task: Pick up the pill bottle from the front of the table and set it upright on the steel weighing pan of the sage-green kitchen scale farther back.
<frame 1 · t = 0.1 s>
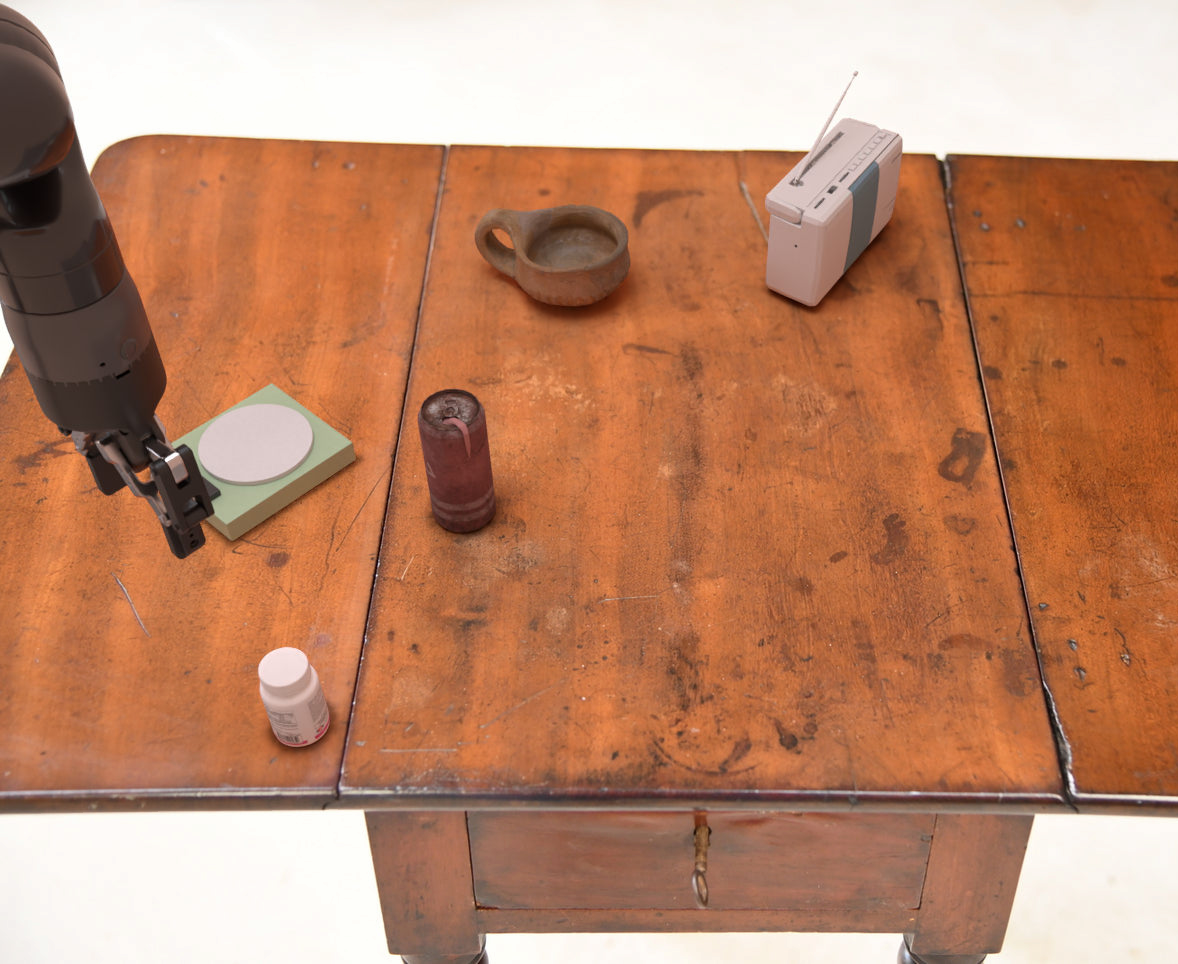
hand: (153, 518, 95), 30 cm above the table, tool pointing down, fingers open, 8 cm apart
can: (465, 514, 137), on the table
radio: (826, 260, 168), on the table
scale: (255, 467, 140), on the table
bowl: (554, 287, 162), on the table
pill bottle: (302, 726, 119), on the table
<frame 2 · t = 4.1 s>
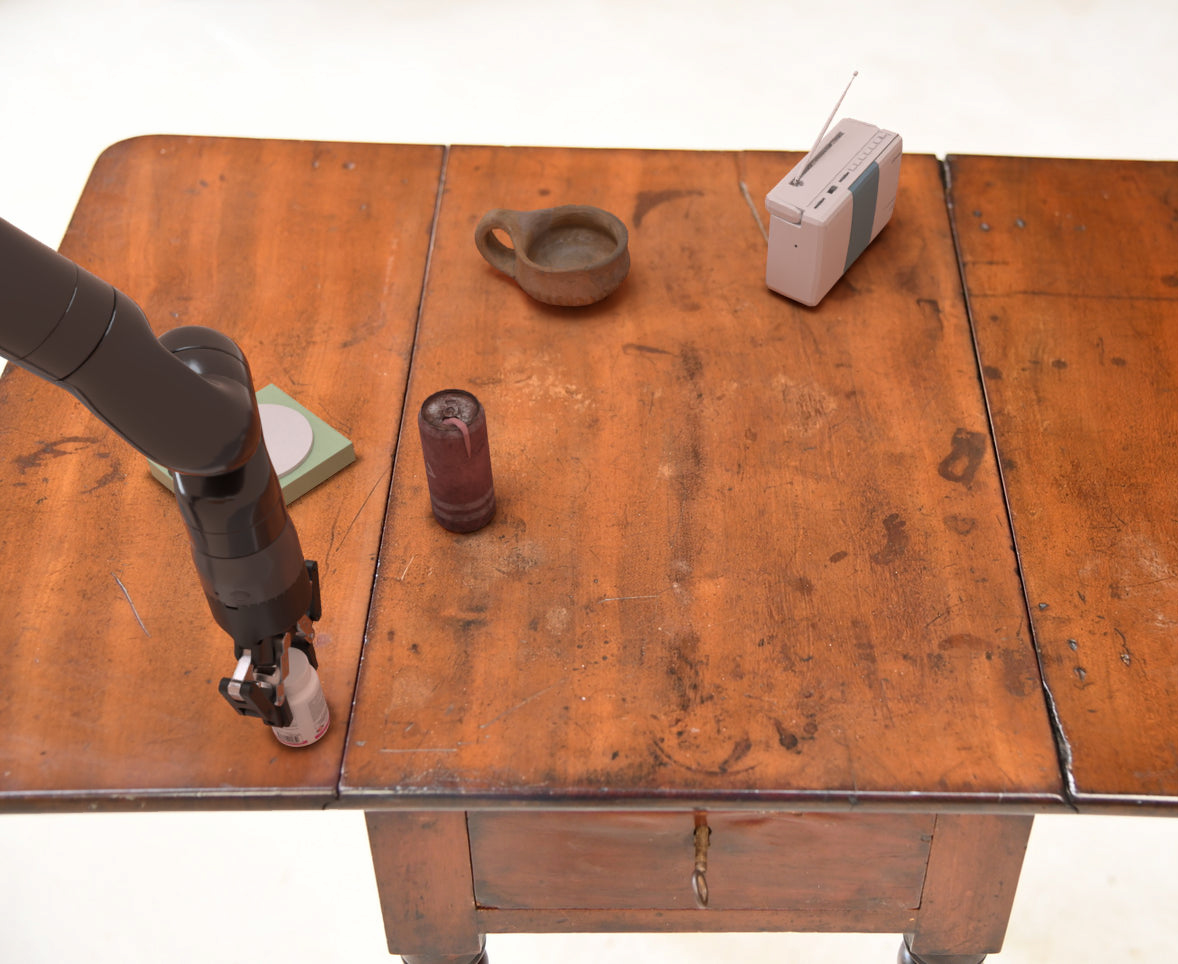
hand: (292, 695, 116), 4 cm above the table, tool pointing down, fingers closed on pill bottle, 4 cm apart
pill bottle: (302, 726, 119), on the table, touching gripper
everything else where it was.
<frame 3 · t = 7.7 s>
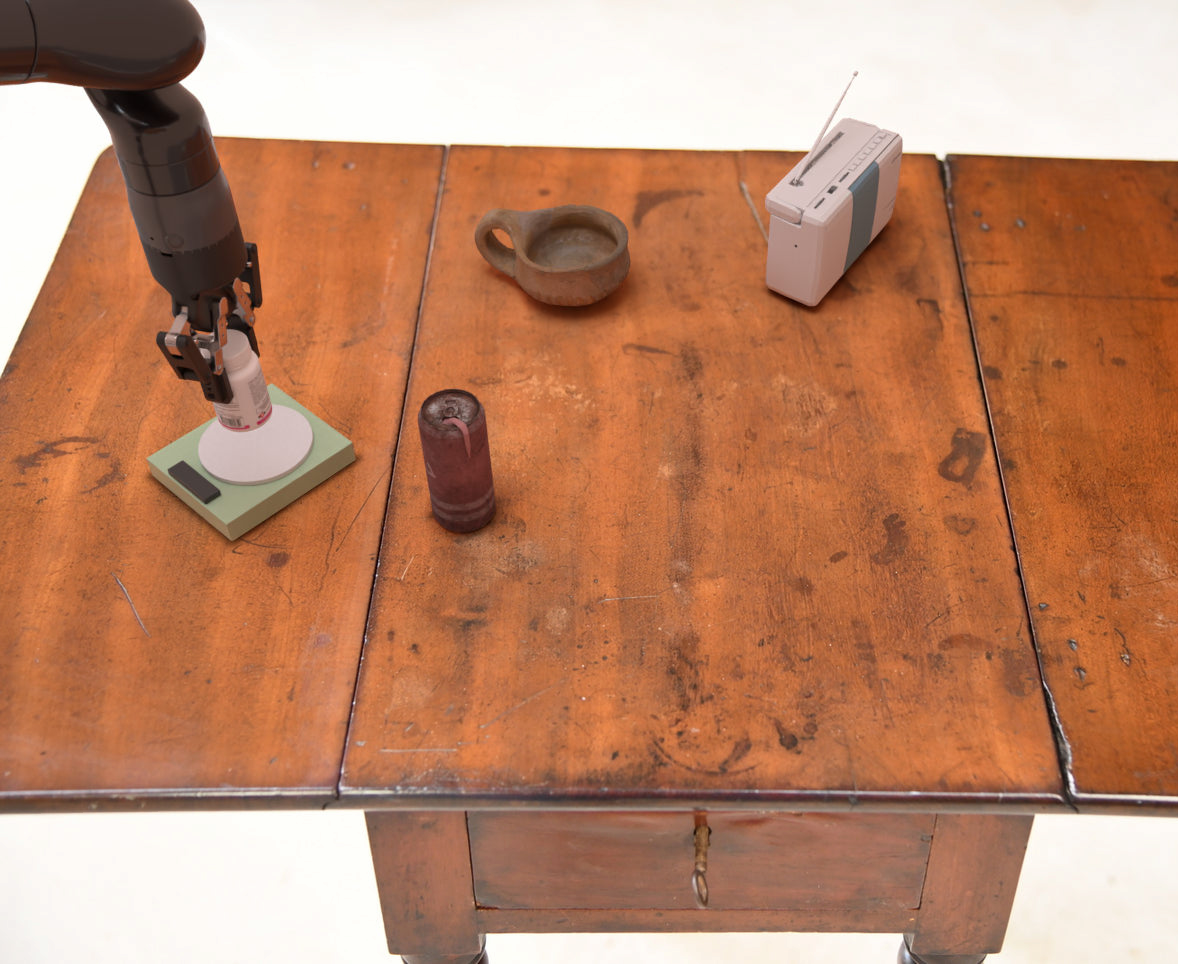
hand: (234, 379, 121), 19 cm above the table, tool pointing down, fingers closed on pill bottle, 4 cm apart
pill bottle: (246, 416, 125), point 14 cm above the table, touching gripper
everything else where it was.
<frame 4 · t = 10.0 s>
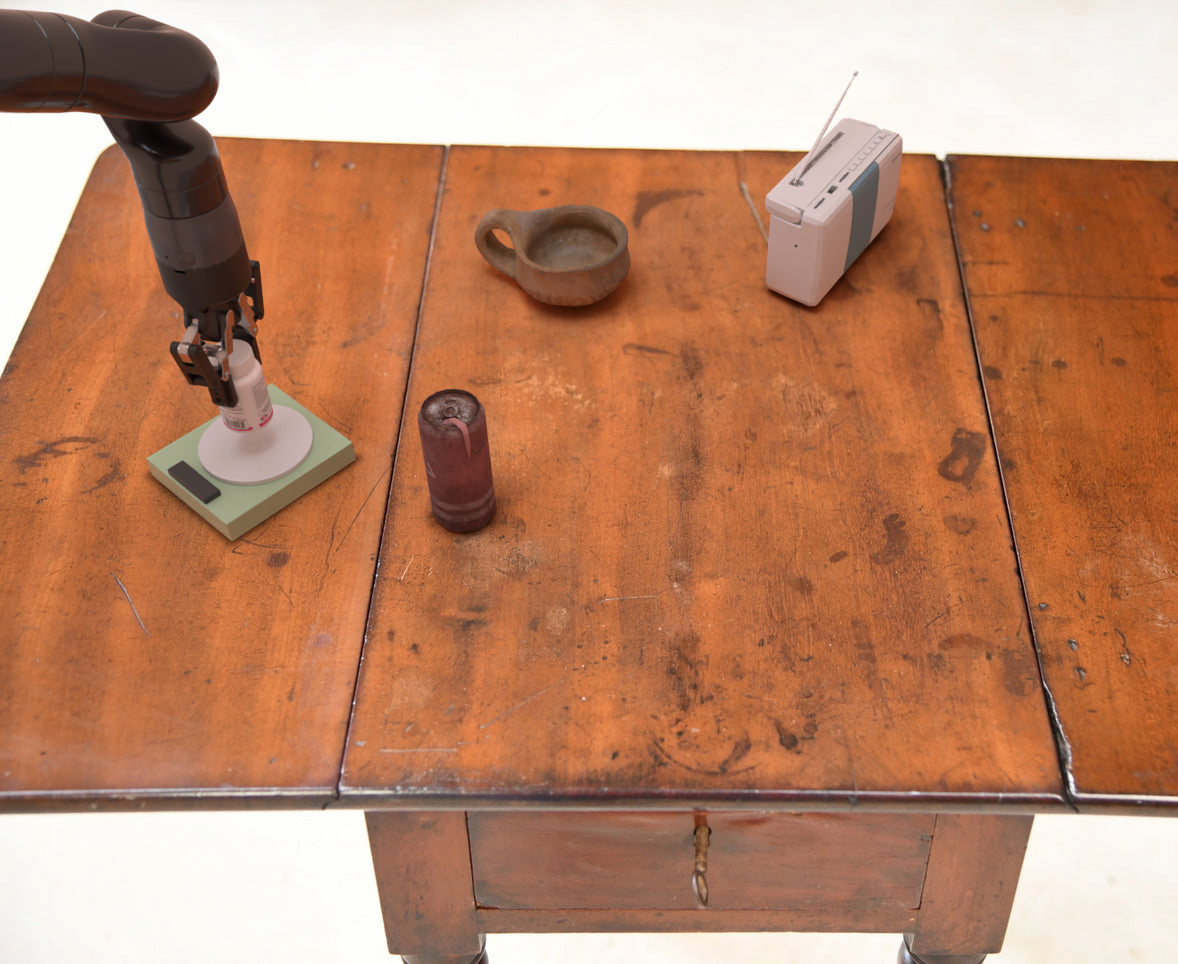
hand: (238, 385, 132), 11 cm above the table, tool pointing down, fingers closed on pill bottle, 4 cm apart
pill bottle: (249, 419, 136), point 6 cm above the table, touching gripper
everything else where it was.
when the fingers open (7 cm above the table, at t = 11.3 s): pill bottle stays where it is, resting on scale.
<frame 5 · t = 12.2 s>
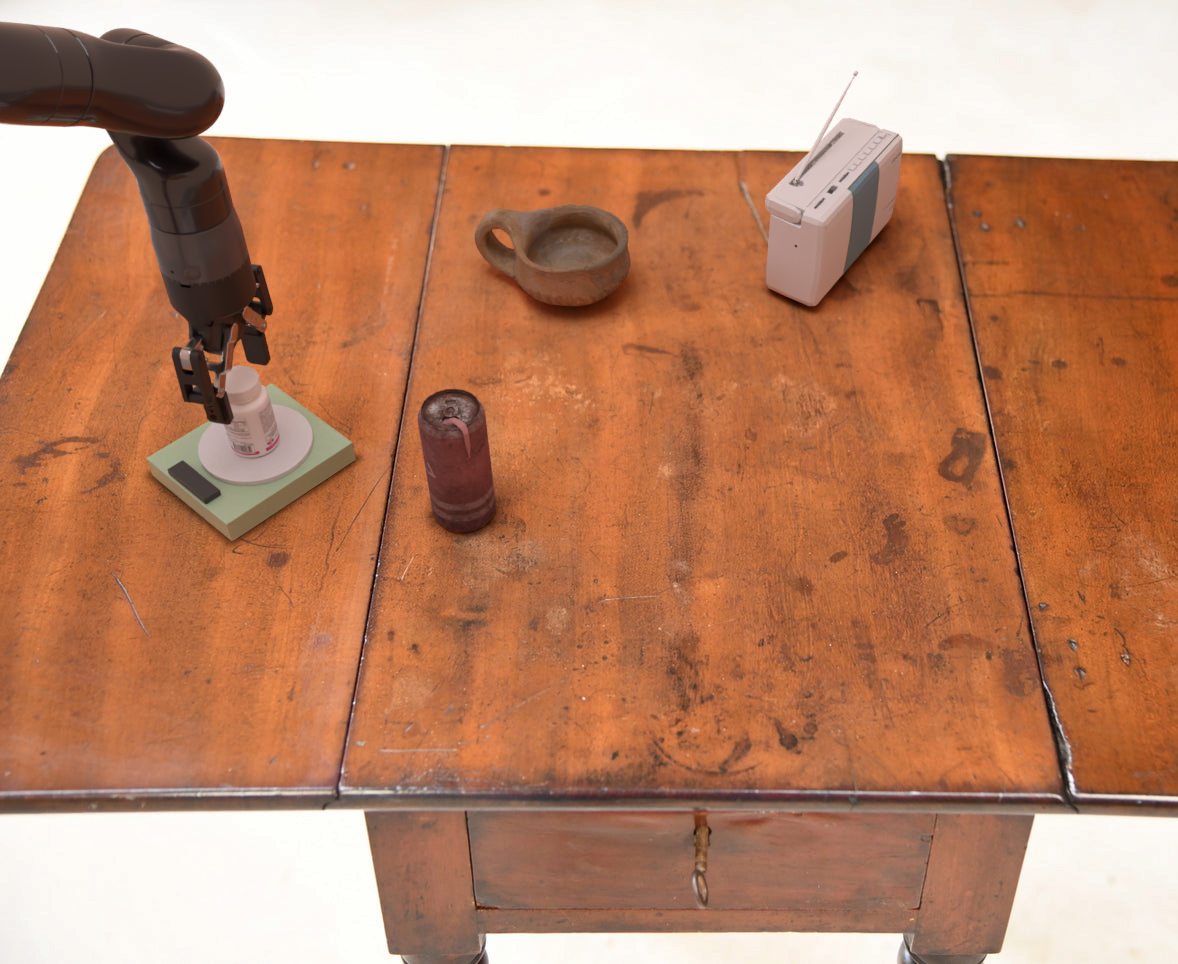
hand: (241, 391, 133), 10 cm above the table, tool pointing down, fingers open, 8 cm apart
pill bottle: (255, 443, 138), point 3 cm above the table, touching scale
everything else where it was.
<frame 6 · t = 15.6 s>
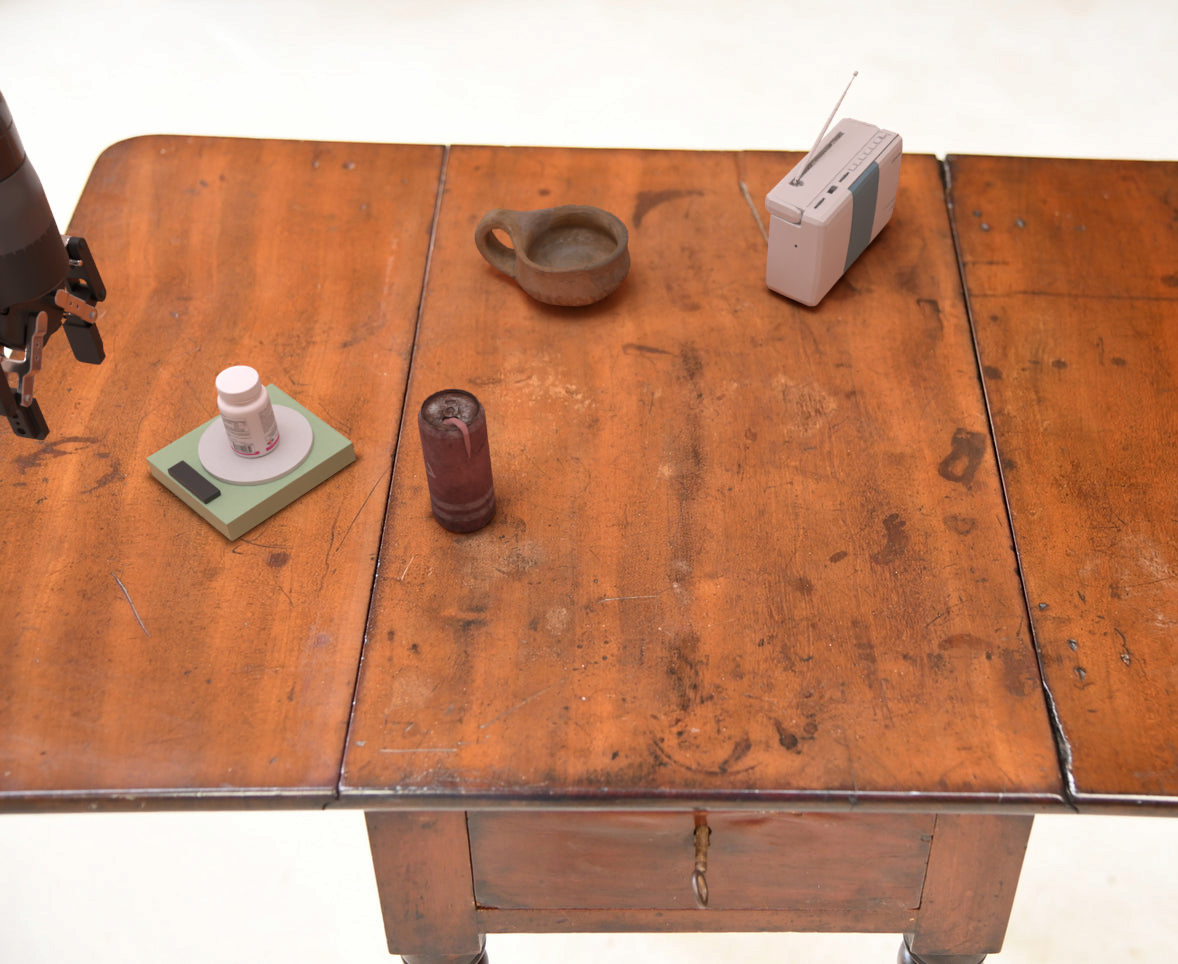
hand: (64, 397, 105), 28 cm above the table, tool pointing down, fingers open, 8 cm apart
nothing on the table moved.
at the end: pill bottle inside the target area on the scale (0.1 cm from its centre), point 2.9 cm above the scale's base; pill bottle tilted 0° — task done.
